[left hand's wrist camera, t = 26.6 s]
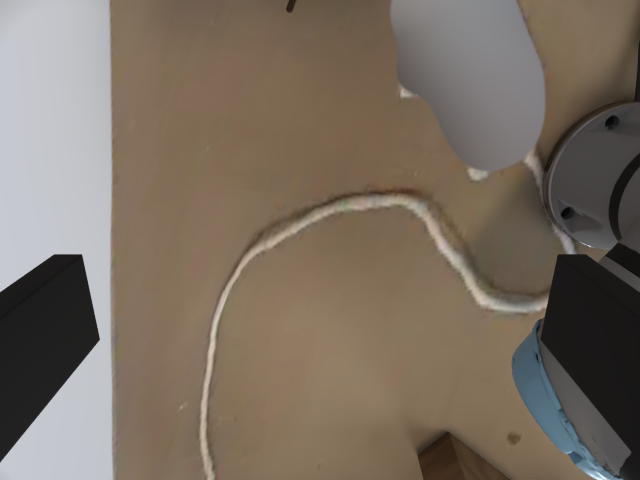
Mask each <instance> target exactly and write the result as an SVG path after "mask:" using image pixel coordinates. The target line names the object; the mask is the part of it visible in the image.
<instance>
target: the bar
mask: <svg viewBox="0 0 640 480" xmlns="http://www.w3.org/2000/svg"><path fill="white" fill-rule="evenodd" d="M418 459H419V463H420V467H421V471H422V475H423V479H424V480H510V479H509V478H507V477H506V476H505V475H503V474H502V473H501V472H499V471H498V470H497V469H496V468H494V467H493V466H492V465H490V464H489V463H488V462H487V461H485V460H484V459H483V458H481V457H480V456H479V455H478V454H476V453H475V452H474V451H472V450H471V449H470V448H469V447H467V446H466V445H465V444H463V443H462V442H461V441H460V440H458V439H457V438H456V437H454V436H453V435H452V434H450V433H449V432H448V433H446V434H445V435H444V436H443V437H441V438H440V439H439V440H437V441H436V442H435V443H433V444H432V445H431V446H430V447H428V448H427V449H426V450H424V451H423V452H422V453H420V454H419V455H418Z"/></svg>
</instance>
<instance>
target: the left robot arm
mask: <svg viewBox="0 0 640 480" xmlns="http://www.w3.org/2000/svg"><path fill="white" fill-rule="evenodd" d="M543 198H544V203H545V207H546V210H547V212H548V214H549V216H550V218H551V219H552V221H553V222H554V223H555V225H556V226H557V227H558V228H559V229H560V230H561V231H563V232H564V233H565V234H567V235H568V236H570V237H571V238H573V239H574V240H576V241H578V242H580V243H582V244H584V245H587V246H590V247H595V248H599V249H606V250H610V251H609V252H608V253H607V254H606V255H605V256H604V257H603V258H602V259H601V260H600V261H599V262H598V263H597V262H596V261H594V260H593V259H592V258H590V257H589V256H587V255H586V254H558V257H557V262H556V266H555V271H554V276H553V281H552V285H551V290H550V295H549V300H548V304H547V309H546V314H545V317H544V318H543V319H540V320H538V321H537V322H536V323H535V325H534V327H533V331H532V332H531V333H530V334H529V335H528V336H527V338H526V339H525V340H524V341H523V342H522V343H521V344H520V346H519V347H518V348H517V349H516V351H515V352H514V355H513V358H512V374H513V379H514V382H515V384H516V387H517V390H518V392H519V394H520V396H521V398H522V399H523V401H524V403H525V405H526V407H527V408H528V410H529V411H530V413H531V414H532V416H533V417H534V419H535V420H536V422H537V423H538V424H539V426H540V427H541V428H542V430H543V431H544V432H545V433H546V435H547V436H548V437H549V438H550V439H551V441H552V442H553V443H554V444H555V445H556V446H557V447H558V448H559V449H560V450H561V451H562V452H563V453H568V455H569V457H570V458H571V459H572V461H573V462H574V464H575V465H576V466H577V467H579V468H580V469H581V470H582V471H583V472H585V473H586V474H588V475H589V476H591V477H592V478H594V479H596V480H640V42H639V50H638V70H637V81H636V91H635V100H632V101H623V102H617V103H613V104H610V105H607V106H604V107H602V108H600V109H597V110H595V111H593V112H592V113H590V114H588V115H587V116H585V117H584V118H582V119H581V120H580V121H578V122H577V123H576V124H575V125H574V126H573V127H572V128H571V129H569V130H568V131H567V133H566V134H565V135H564V136H563V137H562V139H561V140H560V141H559V143H558V144H557V146H556V147H555V149H554V150H553V152H552V154H551V156H550V158H549V161H548V163H547V166H546V170H545V174H544V179H543ZM99 340H100V338H99V333H98V328H97V324H96V319H95V314H94V309H93V304H92V300H91V295H90V290H89V285H88V281H87V276H86V271H85V266H84V262H83V257H82V255H79V254H75V255H74V254H70V255H69V254H55V255H53V256H51V257H50V258H48V259H47V260H46V261H44V262H43V263H41V264H40V265H38V266H37V267H36V268H34V269H33V270H31V271H30V272H28V273H27V274H26V275H24V276H23V277H21V278H20V279H18V280H17V281H16V282H14V283H13V284H11V285H10V286H8V287H7V288H6V289H4V290H3V291H1V292H0V462H1V461H2V459H3V458H4V457H5V456H6V455H7V453H8V452H9V451H10V450H11V448H12V447H13V446H14V445H15V444H16V442H17V441H18V440H19V439H20V437H21V436H22V435H23V434H24V432H25V431H26V430H27V429H28V428H29V426H30V425H31V424H32V423H33V421H34V420H35V419H36V418H37V416H38V415H39V414H40V413H41V412H42V410H43V409H44V408H45V407H46V405H47V404H48V403H49V402H50V400H51V399H52V398H53V397H54V396H55V394H56V393H57V392H58V391H59V389H60V388H61V387H62V386H63V384H64V383H65V382H66V381H67V379H68V378H69V377H70V376H71V375H72V373H73V372H74V371H75V370H76V368H77V367H78V366H79V365H80V364H81V362H82V361H83V360H84V359H85V357H86V356H87V355H88V354H89V352H90V351H91V350H92V349H93V347H94V346H95V345H96V344H97V343H98V341H99Z"/></svg>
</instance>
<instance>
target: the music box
mask: <svg viewBox="0 0 640 480" xmlns="http://www.w3.org/2000/svg"><path fill="white" fill-rule="evenodd" d="M295 3H296V0H289V3H288V5H287V8H286V10H287V12H289V13H291V12H292V11H293V8H294V6H295Z"/></svg>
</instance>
